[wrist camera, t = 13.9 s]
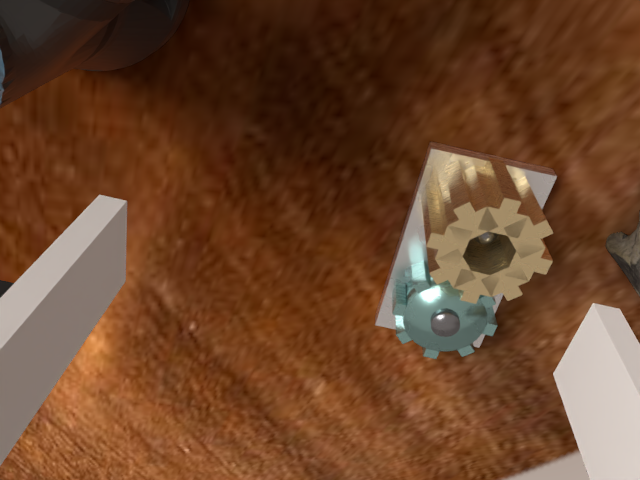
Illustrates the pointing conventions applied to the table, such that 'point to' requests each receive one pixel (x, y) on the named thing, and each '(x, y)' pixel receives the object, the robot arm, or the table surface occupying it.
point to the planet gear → (484, 231)
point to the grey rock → (627, 254)
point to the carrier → (443, 300)
